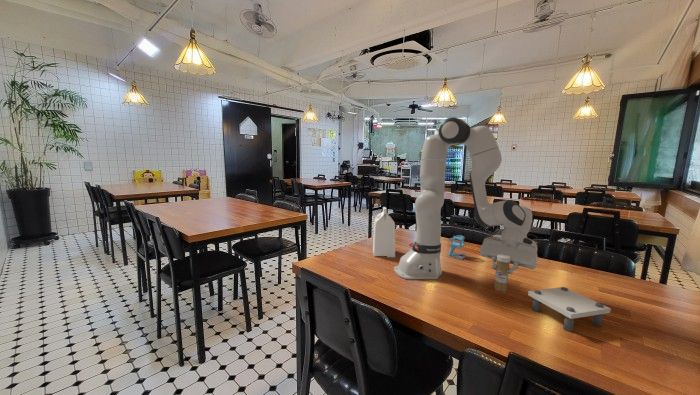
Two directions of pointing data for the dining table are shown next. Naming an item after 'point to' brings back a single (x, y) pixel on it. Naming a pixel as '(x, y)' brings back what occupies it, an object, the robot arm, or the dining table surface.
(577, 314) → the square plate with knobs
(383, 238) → the milk
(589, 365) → the dining table surface
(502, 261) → the sprinkles bottle
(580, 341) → the dining table surface
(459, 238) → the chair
